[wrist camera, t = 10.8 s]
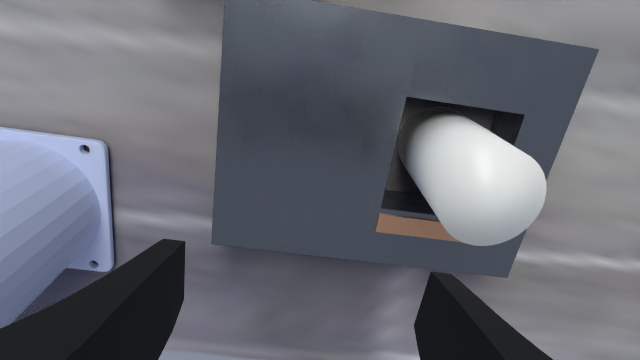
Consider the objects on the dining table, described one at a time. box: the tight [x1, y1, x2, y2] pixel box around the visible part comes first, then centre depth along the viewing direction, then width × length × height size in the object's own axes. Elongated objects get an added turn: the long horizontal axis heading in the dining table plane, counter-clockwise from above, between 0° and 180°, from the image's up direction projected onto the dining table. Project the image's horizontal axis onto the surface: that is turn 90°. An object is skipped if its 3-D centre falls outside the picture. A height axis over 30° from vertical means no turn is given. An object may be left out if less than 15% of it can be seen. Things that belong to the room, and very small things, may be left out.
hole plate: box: [212, 0, 599, 278], centre depth 19 cm, size 16×12×3 cm
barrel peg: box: [398, 106, 547, 246], centre depth 17 cm, size 4×4×7 cm
